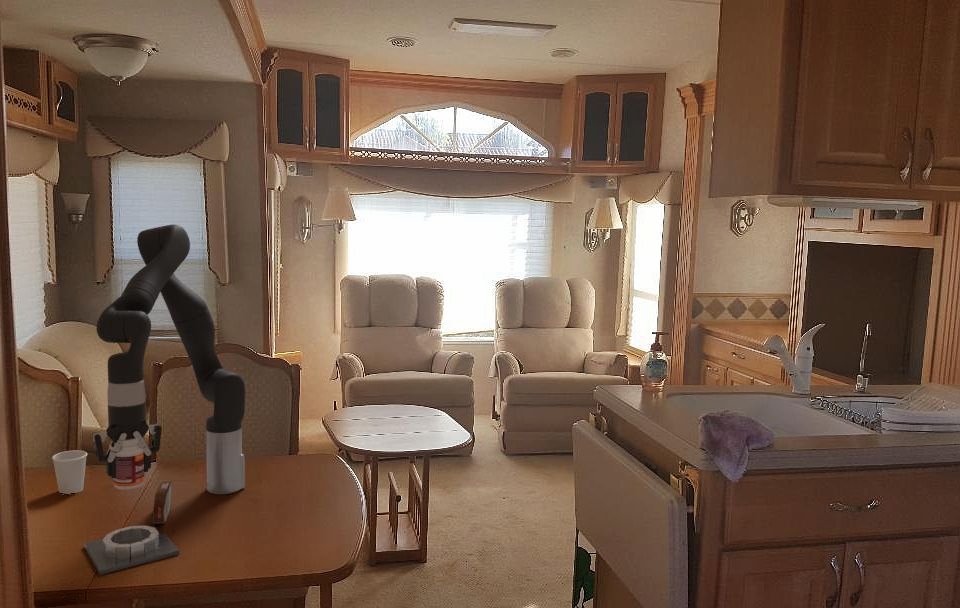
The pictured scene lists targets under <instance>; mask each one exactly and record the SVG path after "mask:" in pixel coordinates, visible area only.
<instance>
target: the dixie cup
mask: <svg viewBox="0 0 960 608" xmlns="http://www.w3.org/2000/svg"><path fill="white" fill-rule="evenodd" d="M87 456H88V453H87V452H86V451H84V450H81V449H80V450H77V449H76V450H67V451H62V452H61V451H60V452H59V453H56V454H54V455H52V457H51V460H52V462H53V465H54V467H53V468H54V471H55V477H56V482H57V489H58V492H60V493H66V494H69V495H71V494H70V493H75V494H77V493H78V494H79V493H81V492H82V491H83V490H84V483H85V476H86V475H85V474H86V473H85V472H86V463H87ZM60 493H59V494H60Z"/></svg>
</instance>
